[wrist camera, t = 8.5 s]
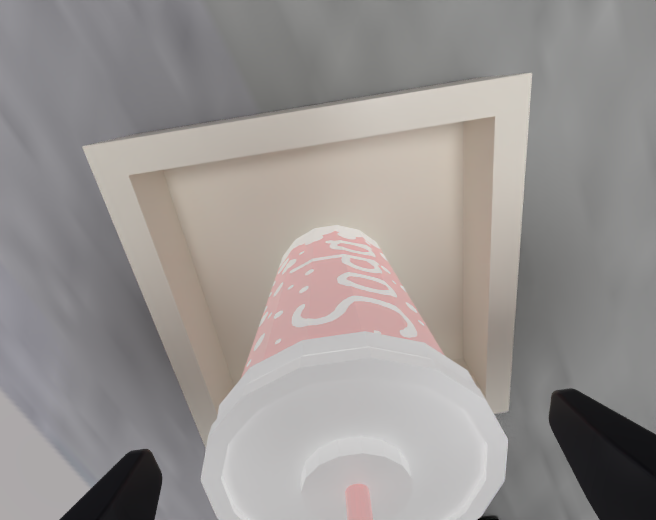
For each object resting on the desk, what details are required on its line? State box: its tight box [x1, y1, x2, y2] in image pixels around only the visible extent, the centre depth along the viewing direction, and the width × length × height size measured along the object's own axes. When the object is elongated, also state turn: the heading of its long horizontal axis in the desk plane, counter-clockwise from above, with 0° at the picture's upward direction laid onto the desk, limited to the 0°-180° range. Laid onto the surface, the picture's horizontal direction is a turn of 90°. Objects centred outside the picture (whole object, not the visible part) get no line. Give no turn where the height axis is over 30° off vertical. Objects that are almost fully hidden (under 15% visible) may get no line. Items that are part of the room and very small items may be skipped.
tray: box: [82, 73, 532, 448], centre depth 15 cm, size 13×13×4 cm
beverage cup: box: [201, 225, 508, 520], centre depth 9 cm, size 6×6×14 cm
